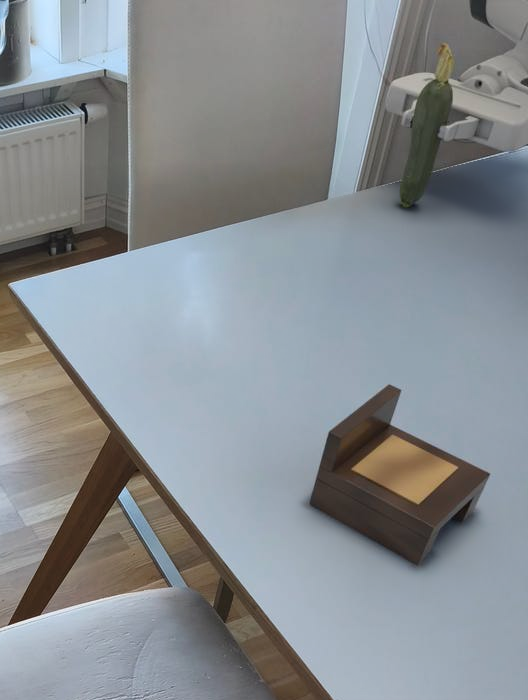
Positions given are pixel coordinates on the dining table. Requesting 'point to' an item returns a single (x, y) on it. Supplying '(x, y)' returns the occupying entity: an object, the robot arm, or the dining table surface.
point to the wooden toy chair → (392, 481)
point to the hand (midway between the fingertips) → (424, 127)
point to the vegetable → (427, 129)
